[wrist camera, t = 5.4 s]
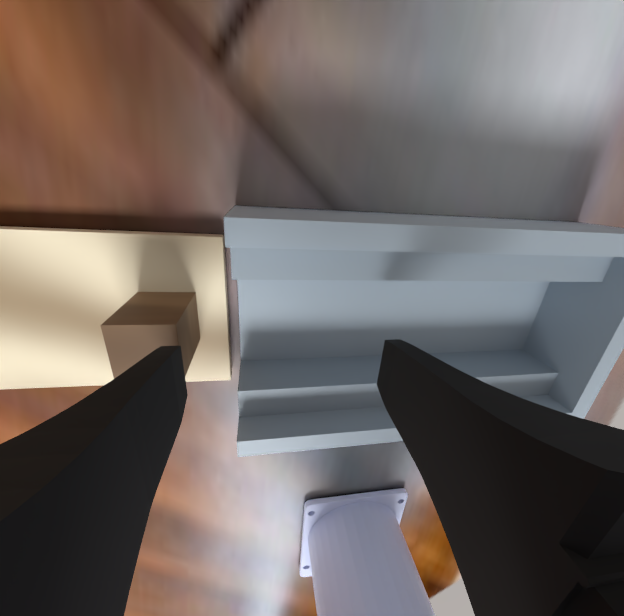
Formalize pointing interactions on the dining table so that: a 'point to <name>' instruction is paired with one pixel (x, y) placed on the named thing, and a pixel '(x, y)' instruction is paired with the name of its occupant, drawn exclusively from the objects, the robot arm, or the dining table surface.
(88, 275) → the cover plate
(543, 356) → the box
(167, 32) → the dining table surface
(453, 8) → the dining table surface
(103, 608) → the robot arm
